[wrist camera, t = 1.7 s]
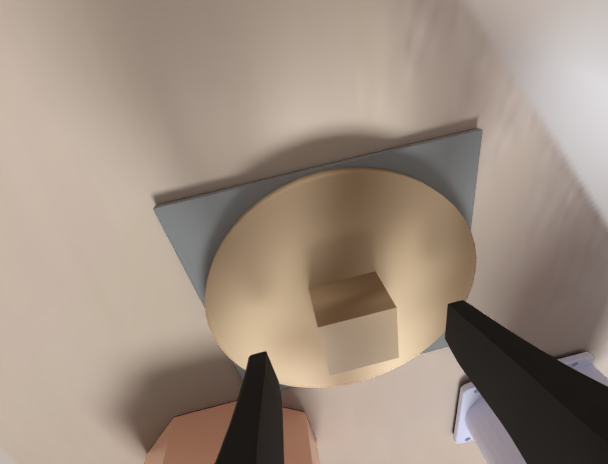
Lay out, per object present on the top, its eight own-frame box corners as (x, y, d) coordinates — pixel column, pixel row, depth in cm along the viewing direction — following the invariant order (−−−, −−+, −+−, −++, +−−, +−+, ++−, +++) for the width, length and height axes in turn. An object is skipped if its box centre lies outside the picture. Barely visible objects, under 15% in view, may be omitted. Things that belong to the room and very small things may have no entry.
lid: (479, 133, 11) (548, 153, 8) (455, 343, 17) (489, 391, 15) (157, 210, 11) (125, 256, 8) (252, 395, 17) (252, 454, 14)
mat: (477, 128, 11) (482, 129, 11) (453, 340, 18) (456, 344, 17) (155, 205, 11) (152, 208, 11) (251, 392, 17) (251, 397, 17)
